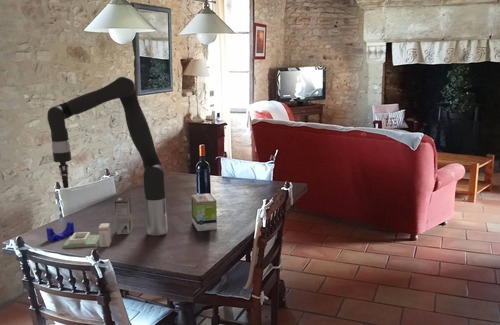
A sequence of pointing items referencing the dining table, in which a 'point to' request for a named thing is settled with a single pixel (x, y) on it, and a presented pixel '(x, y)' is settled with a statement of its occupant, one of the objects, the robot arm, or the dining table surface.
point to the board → (81, 240)
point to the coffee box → (123, 215)
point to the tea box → (204, 212)
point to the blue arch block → (55, 237)
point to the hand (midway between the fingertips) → (65, 185)
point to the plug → (104, 234)
